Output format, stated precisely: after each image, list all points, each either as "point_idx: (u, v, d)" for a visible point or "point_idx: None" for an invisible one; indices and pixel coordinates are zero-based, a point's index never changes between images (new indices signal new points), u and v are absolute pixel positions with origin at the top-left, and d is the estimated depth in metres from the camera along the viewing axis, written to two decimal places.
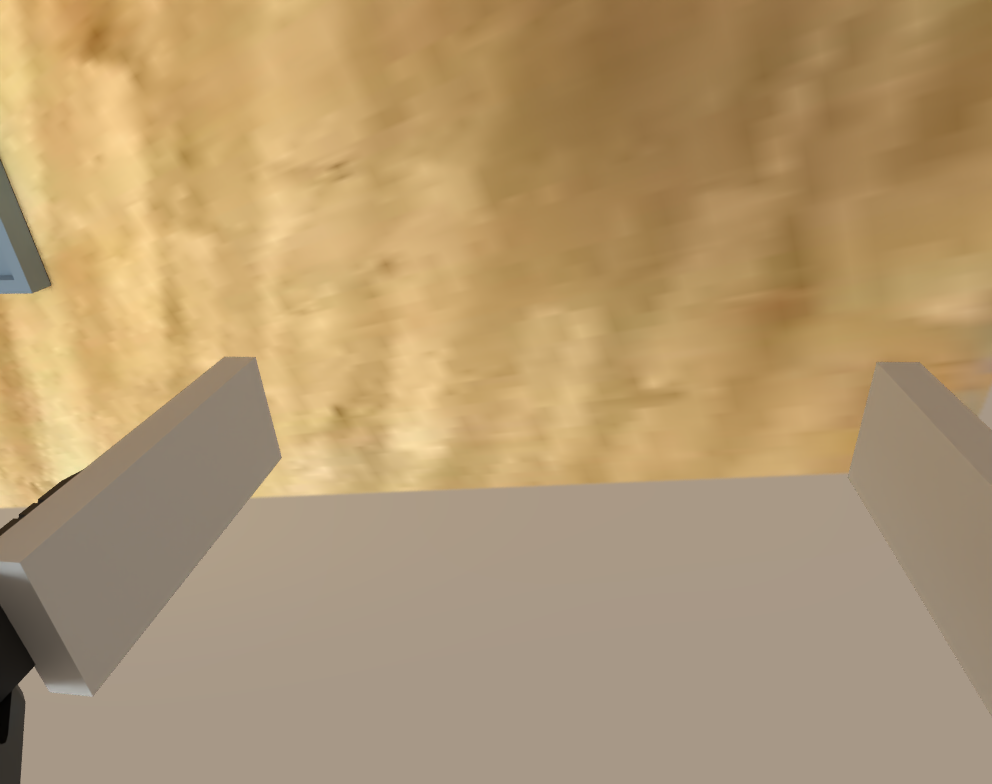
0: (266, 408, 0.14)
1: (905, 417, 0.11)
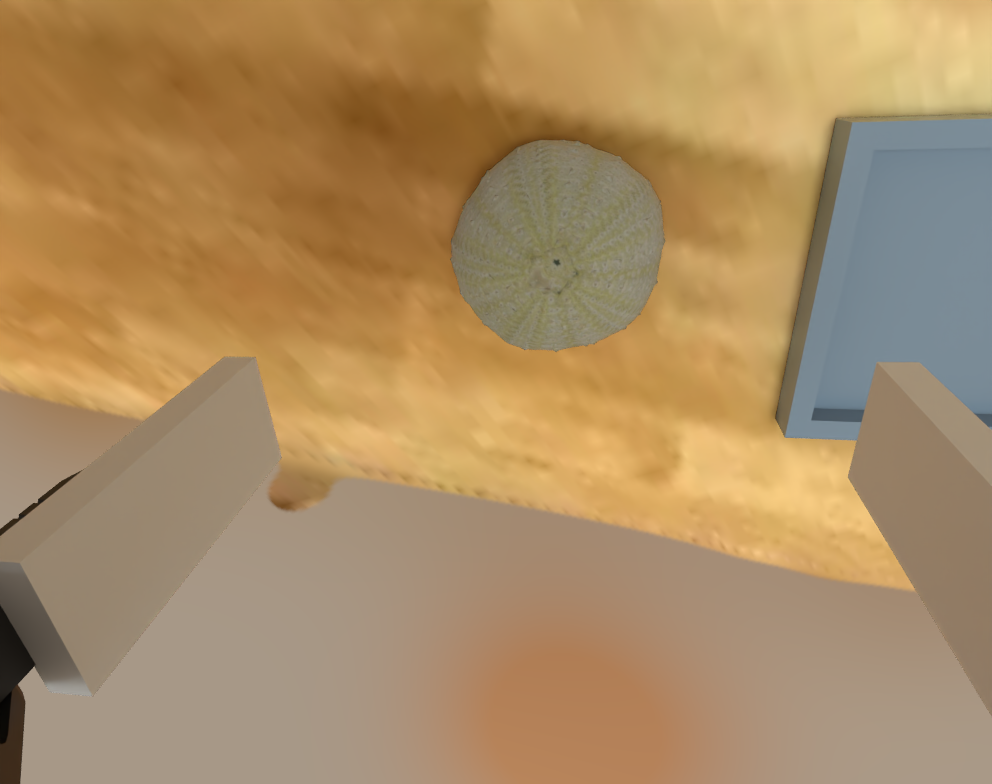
0: (267, 408, 0.14)
1: (905, 417, 0.11)
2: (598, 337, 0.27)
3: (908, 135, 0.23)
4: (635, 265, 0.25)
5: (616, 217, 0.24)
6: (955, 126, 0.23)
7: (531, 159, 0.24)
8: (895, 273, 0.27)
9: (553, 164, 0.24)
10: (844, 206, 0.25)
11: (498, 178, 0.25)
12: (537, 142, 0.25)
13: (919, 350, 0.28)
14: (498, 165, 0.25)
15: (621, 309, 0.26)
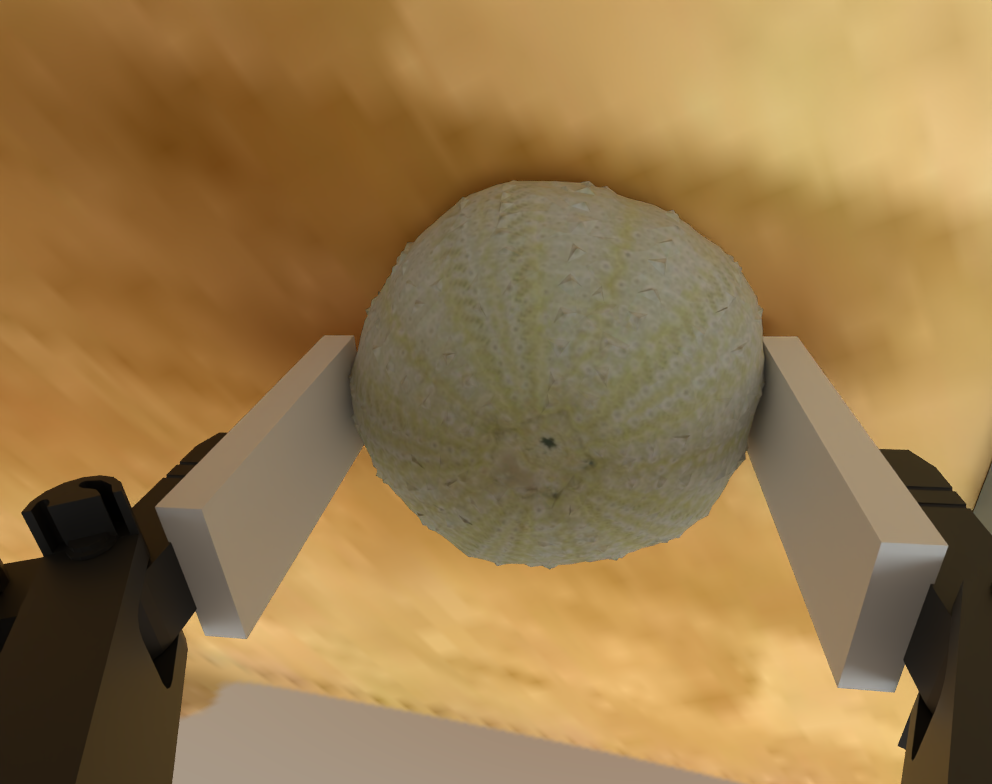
0: None
1: (774, 383, 0.12)
2: (634, 550, 0.14)
3: None
4: (715, 440, 0.12)
5: (677, 352, 0.11)
6: None
7: (487, 225, 0.11)
8: None
9: (536, 239, 0.11)
10: None
11: (423, 266, 0.12)
12: (502, 188, 0.12)
13: None
14: (425, 235, 0.12)
15: (682, 516, 0.13)
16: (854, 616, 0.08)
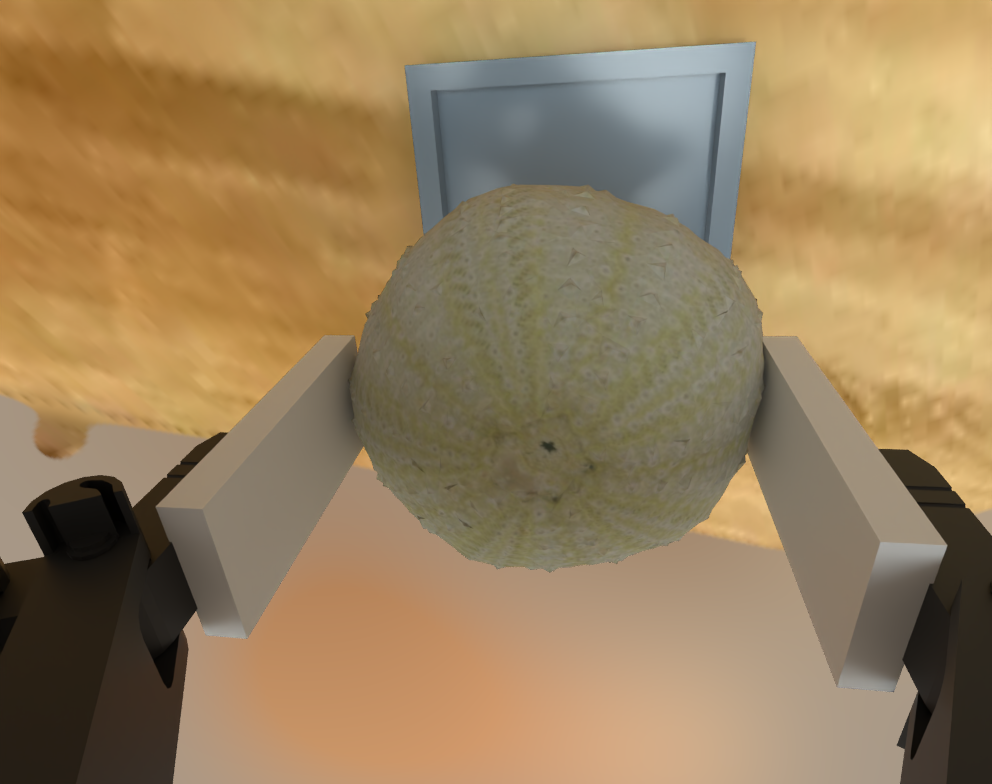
0: None
1: (774, 383, 0.12)
2: (634, 553, 0.14)
3: (454, 76, 0.26)
4: (715, 444, 0.12)
5: (676, 356, 0.11)
6: (489, 66, 0.26)
7: (487, 230, 0.11)
8: None
9: (536, 244, 0.11)
10: (421, 144, 0.27)
11: (423, 270, 0.12)
12: (502, 192, 0.12)
13: None
14: (425, 239, 0.12)
15: (682, 520, 0.13)
16: (853, 616, 0.08)
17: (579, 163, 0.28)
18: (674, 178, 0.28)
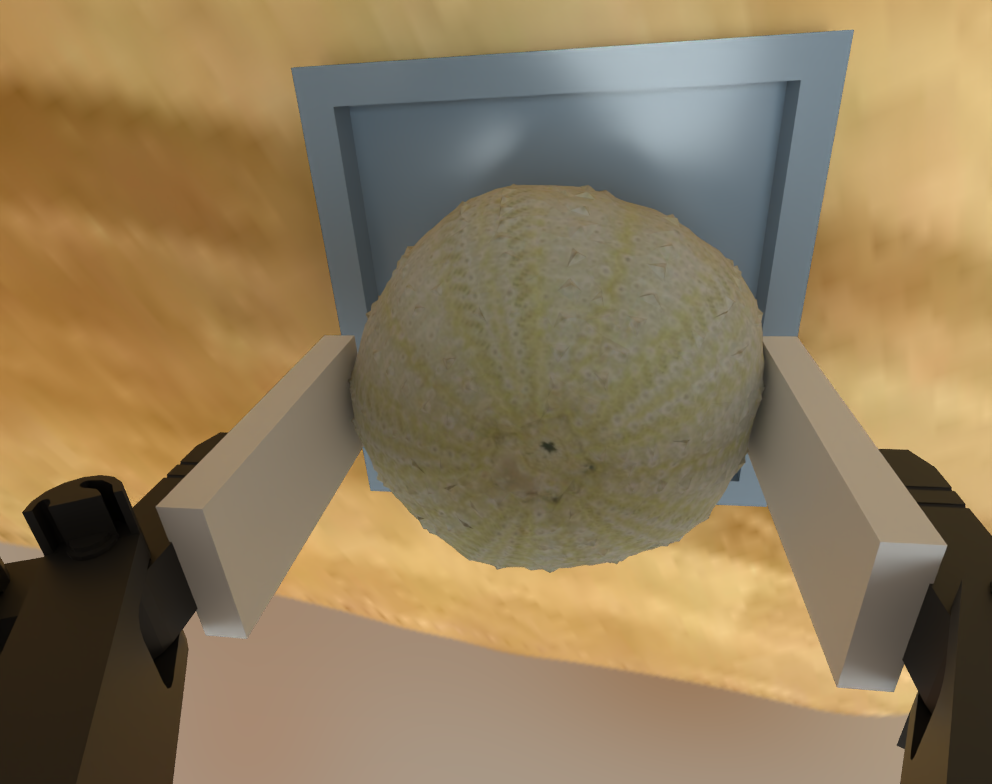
0: None
1: (774, 383, 0.12)
2: None
3: (368, 84, 0.17)
4: (715, 444, 0.12)
5: (676, 357, 0.11)
6: (422, 68, 0.16)
7: (487, 230, 0.11)
8: None
9: (535, 244, 0.11)
10: (326, 187, 0.18)
11: (423, 271, 0.12)
12: (502, 192, 0.12)
13: None
14: (425, 240, 0.12)
15: (683, 520, 0.13)
16: (853, 616, 0.08)
17: None
18: (710, 239, 0.18)
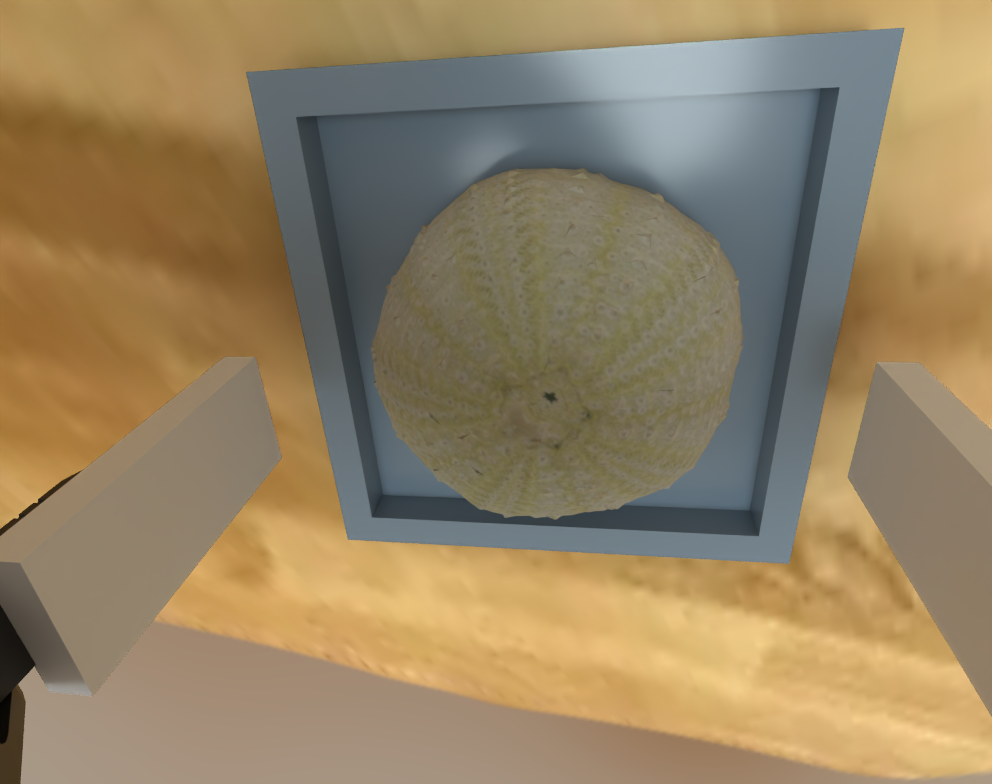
0: (267, 408, 0.14)
1: (905, 417, 0.11)
2: (629, 501, 0.16)
3: (335, 91, 0.14)
4: (697, 395, 0.13)
5: (661, 315, 0.12)
6: (397, 73, 0.14)
7: (495, 207, 0.13)
8: None
9: (537, 218, 0.13)
10: (290, 208, 0.16)
11: (438, 244, 0.14)
12: (507, 175, 0.14)
13: None
14: (440, 218, 0.14)
15: (670, 466, 0.14)
16: None
17: None
18: None
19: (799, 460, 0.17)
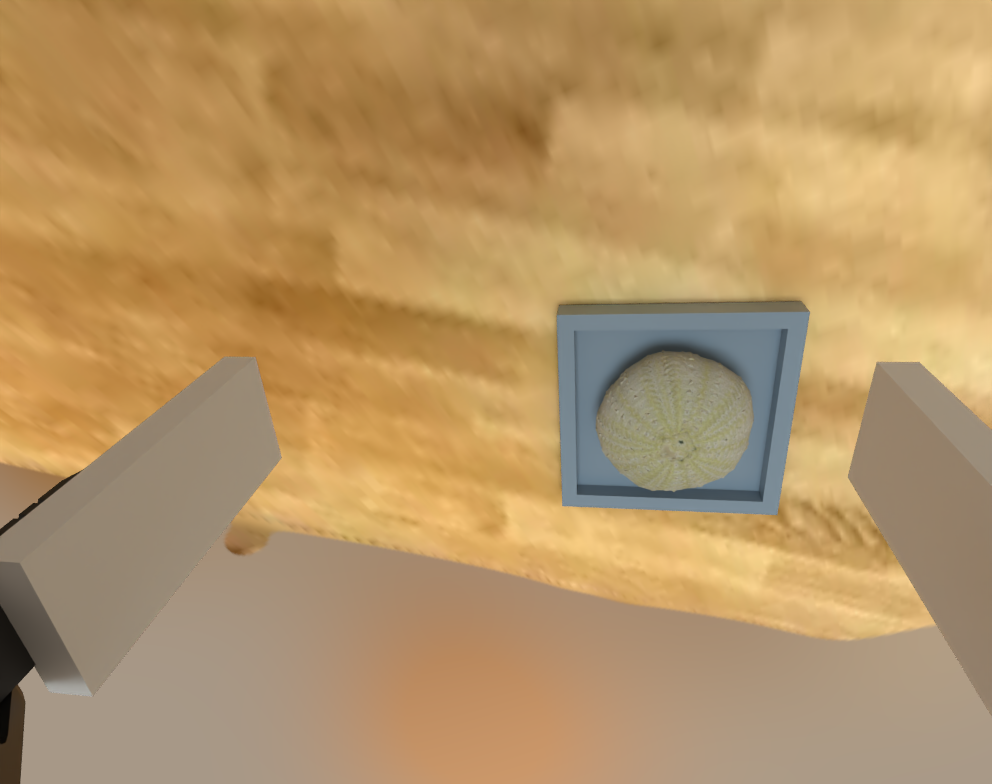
0: (266, 408, 0.14)
1: (905, 417, 0.11)
2: (706, 483, 0.38)
3: (592, 322, 0.37)
4: (736, 441, 0.35)
5: (723, 413, 0.35)
6: (618, 317, 0.36)
7: (660, 372, 0.35)
8: None
9: (677, 377, 0.35)
10: (564, 362, 0.38)
11: (636, 384, 0.36)
12: (662, 357, 0.36)
13: None
14: (634, 372, 0.36)
15: (725, 468, 0.36)
16: None
17: None
18: (747, 385, 0.38)
19: (779, 467, 0.39)
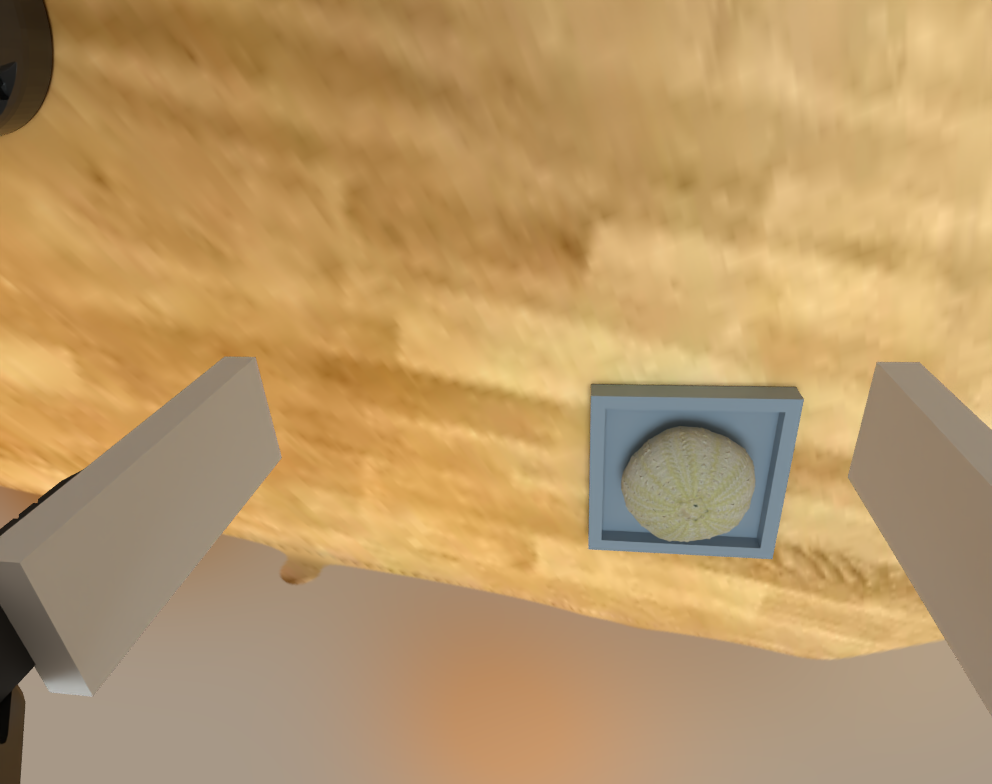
0: (267, 408, 0.14)
1: (906, 417, 0.11)
2: None
3: (620, 402, 0.43)
4: (741, 504, 0.42)
5: (731, 483, 0.41)
6: (643, 399, 0.43)
7: (679, 447, 0.42)
8: None
9: (693, 452, 0.42)
10: (595, 433, 0.45)
11: (658, 456, 0.43)
12: (680, 433, 0.43)
13: None
14: (656, 444, 0.43)
15: (731, 525, 0.43)
16: None
17: None
18: (749, 453, 0.45)
19: (775, 520, 0.46)
